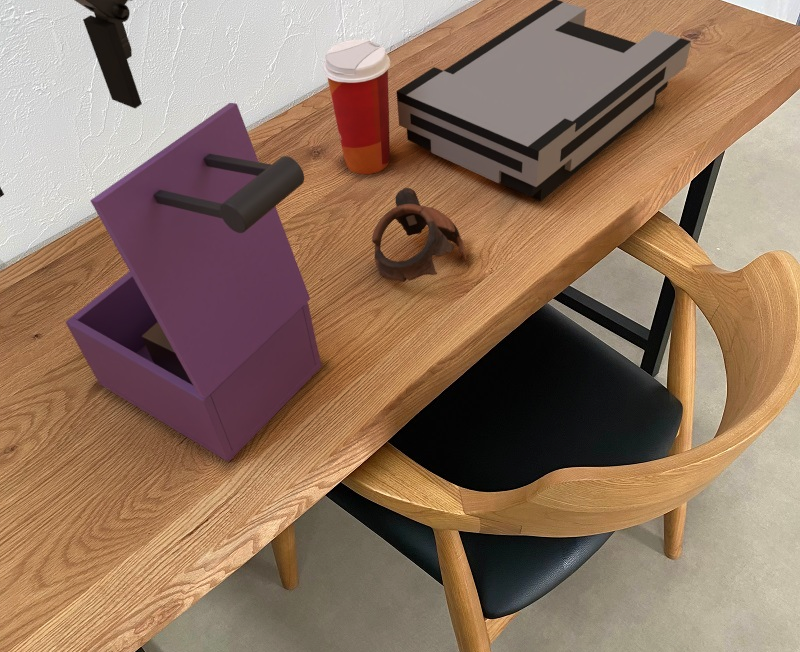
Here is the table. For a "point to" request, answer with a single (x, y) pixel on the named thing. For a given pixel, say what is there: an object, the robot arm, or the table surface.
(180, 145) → the purple box lid
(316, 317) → the table surface
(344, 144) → the paper cup
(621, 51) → the game console
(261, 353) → the file box
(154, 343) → the block
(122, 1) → the robot arm
